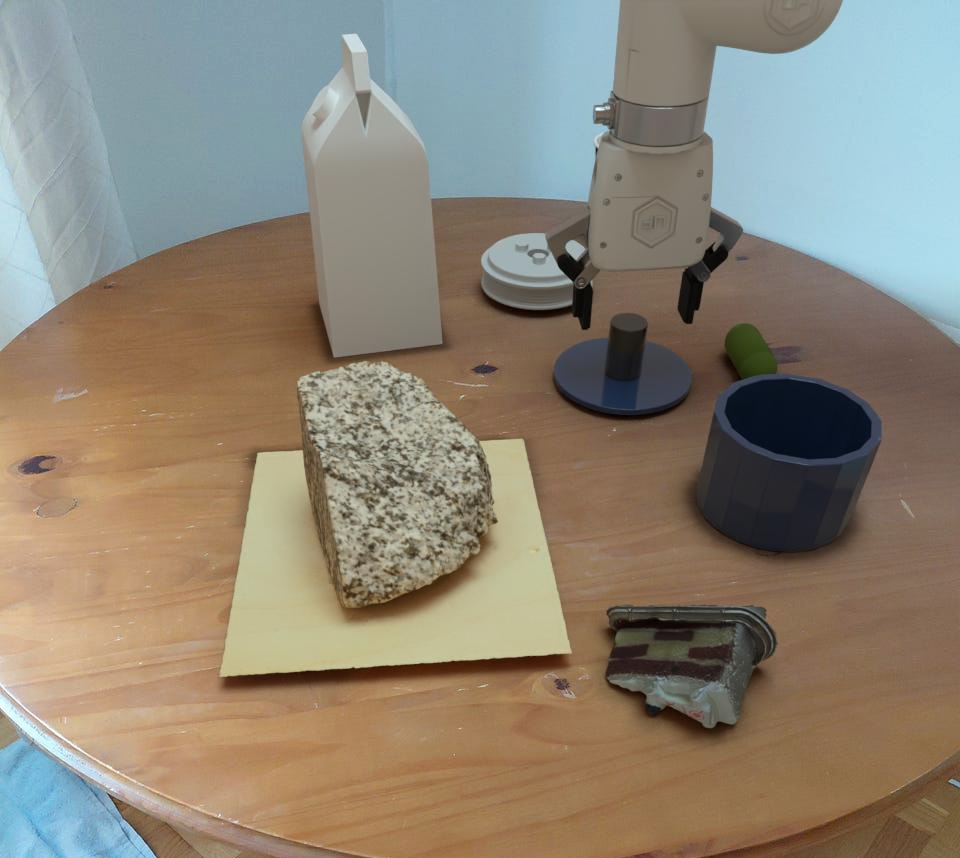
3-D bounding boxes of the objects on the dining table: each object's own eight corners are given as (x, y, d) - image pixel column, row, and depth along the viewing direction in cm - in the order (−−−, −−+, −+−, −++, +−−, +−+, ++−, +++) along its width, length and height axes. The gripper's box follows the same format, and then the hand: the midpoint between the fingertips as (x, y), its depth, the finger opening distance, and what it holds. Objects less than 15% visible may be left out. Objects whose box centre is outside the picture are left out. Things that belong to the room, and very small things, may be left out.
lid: (518, 328, 96) (519, 283, 92) (461, 282, 103) (460, 238, 99) (613, 300, 100) (618, 256, 96) (552, 258, 107) (554, 215, 104)
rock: (250, 450, 80) (322, 290, 71) (459, 534, 89) (548, 402, 79) (209, 674, 60) (302, 493, 51) (484, 755, 69) (607, 613, 59)
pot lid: (672, 345, 93) (682, 285, 89) (705, 417, 84) (719, 355, 79) (544, 350, 93) (547, 291, 88) (563, 424, 83) (568, 362, 79)
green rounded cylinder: (717, 349, 93) (724, 317, 90) (751, 348, 93) (759, 315, 90) (741, 395, 87) (749, 362, 84) (777, 393, 87) (786, 360, 84)
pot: (818, 455, 80) (846, 370, 74) (871, 547, 71) (909, 460, 65) (680, 462, 79) (697, 377, 73) (718, 556, 71) (741, 468, 64)
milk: (442, 343, 93) (433, 57, 74) (333, 357, 92) (295, 67, 72) (420, 292, 101) (406, 21, 82) (319, 303, 99) (281, 29, 80)
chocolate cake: (565, 692, 62) (698, 672, 52) (596, 607, 64) (727, 574, 55) (656, 754, 66) (794, 747, 56) (681, 672, 69) (817, 652, 59)
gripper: (557, 139, 68) (548, 345, 81) (778, 129, 69) (735, 334, 81) (544, 108, 73) (537, 306, 86) (750, 98, 74) (713, 296, 87)
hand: (634, 320), depth 84 cm, fingers open, 9 cm apart
